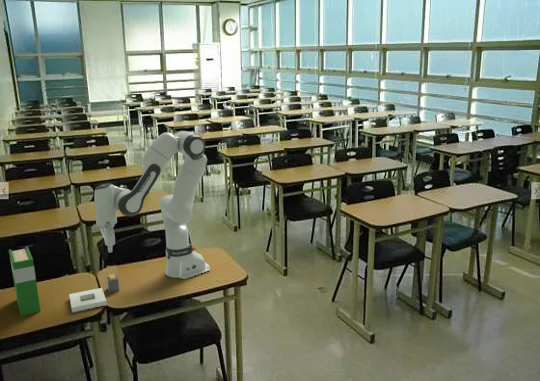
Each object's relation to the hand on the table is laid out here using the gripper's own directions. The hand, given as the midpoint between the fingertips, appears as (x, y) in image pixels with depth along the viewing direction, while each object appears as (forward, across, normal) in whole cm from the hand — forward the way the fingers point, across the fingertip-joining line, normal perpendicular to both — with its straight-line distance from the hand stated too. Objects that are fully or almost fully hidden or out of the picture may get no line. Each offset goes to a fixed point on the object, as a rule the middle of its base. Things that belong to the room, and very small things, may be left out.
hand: (108, 248), depth 214 cm
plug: (+21, 0, -1) cm, 21 cm away
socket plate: (+21, -8, +11) cm, 25 cm away
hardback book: (+22, +1, +35) cm, 41 cm away
